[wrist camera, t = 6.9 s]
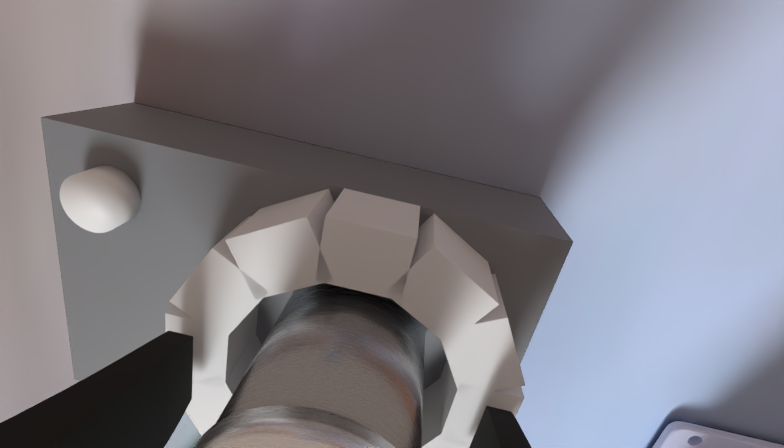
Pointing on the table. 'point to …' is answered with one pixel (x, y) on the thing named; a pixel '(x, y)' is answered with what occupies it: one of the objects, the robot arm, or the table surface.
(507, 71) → the table surface
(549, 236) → the camera body
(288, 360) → the lens
